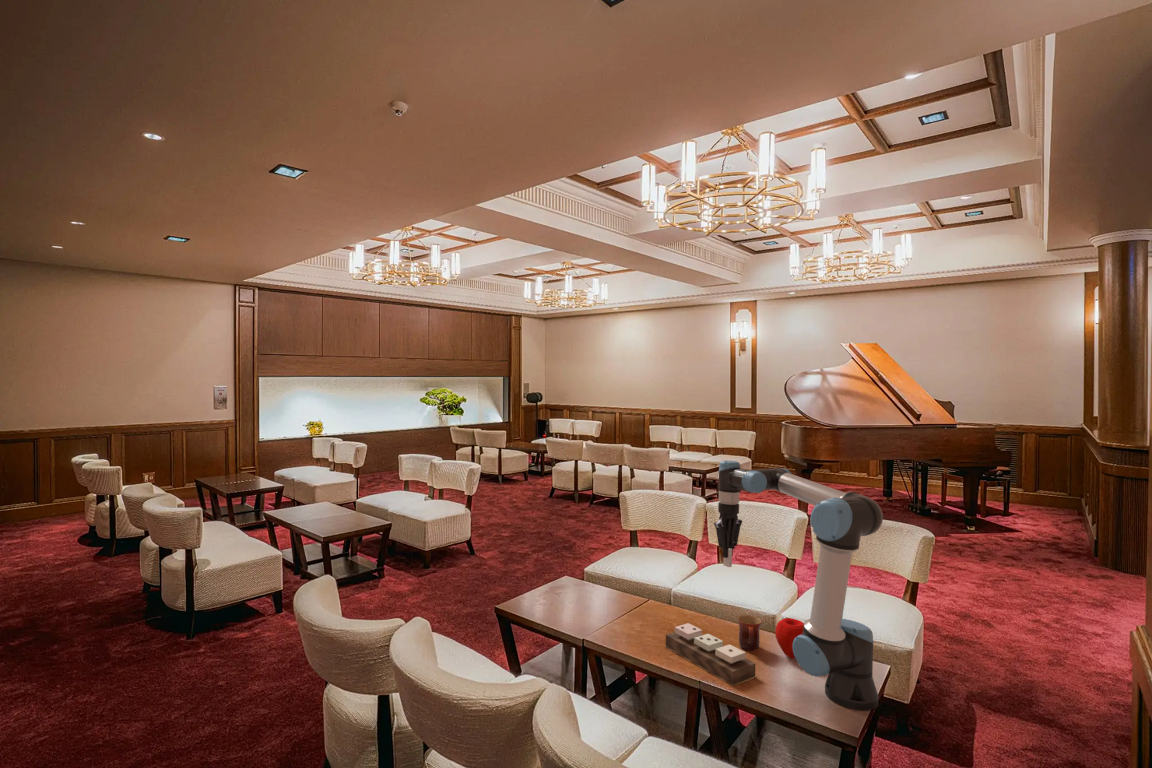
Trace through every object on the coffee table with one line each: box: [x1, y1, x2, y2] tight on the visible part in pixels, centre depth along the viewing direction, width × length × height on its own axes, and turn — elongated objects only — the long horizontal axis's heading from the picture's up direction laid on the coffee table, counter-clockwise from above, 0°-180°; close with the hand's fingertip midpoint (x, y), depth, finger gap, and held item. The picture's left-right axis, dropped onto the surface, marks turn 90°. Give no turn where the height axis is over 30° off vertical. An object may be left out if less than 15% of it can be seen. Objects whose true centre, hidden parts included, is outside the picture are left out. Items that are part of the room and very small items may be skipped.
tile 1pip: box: [715, 643, 747, 664], centre depth 191 cm, size 7×7×7 cm
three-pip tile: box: [694, 633, 724, 652], centre depth 199 cm, size 7×7×7 cm
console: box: [664, 631, 757, 687], centre depth 199 cm, size 33×12×4 cm, turn 33°
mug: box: [737, 614, 763, 652], centre depth 209 cm, size 12×9×10 cm
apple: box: [774, 617, 804, 660], centre depth 204 cm, size 12×12×13 cm
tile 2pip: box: [674, 622, 703, 641], centre depth 207 cm, size 7×7×7 cm
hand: (727, 565), depth 210 cm, fingers closed
